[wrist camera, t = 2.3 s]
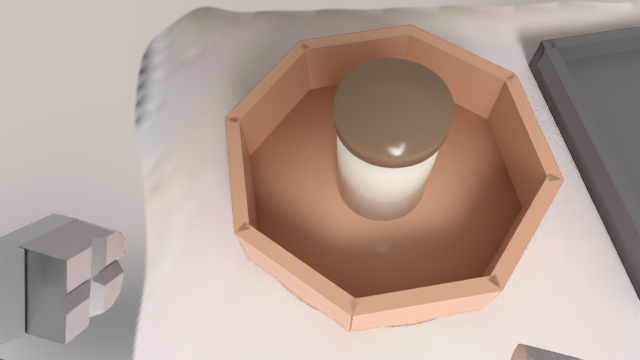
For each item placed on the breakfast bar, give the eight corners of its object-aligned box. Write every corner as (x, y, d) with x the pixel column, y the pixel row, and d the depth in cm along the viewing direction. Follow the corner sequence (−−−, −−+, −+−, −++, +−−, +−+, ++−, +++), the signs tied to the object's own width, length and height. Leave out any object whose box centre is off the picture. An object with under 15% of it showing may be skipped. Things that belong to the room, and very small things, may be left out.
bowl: (470, 65, 36) (488, 13, 31) (563, 298, 28) (606, 272, 23) (234, 100, 35) (219, 52, 31) (258, 351, 27) (242, 335, 22)
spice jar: (414, 135, 32) (435, 50, 25) (438, 214, 29) (470, 144, 22) (327, 149, 32) (324, 67, 25) (343, 230, 29) (345, 164, 22)
